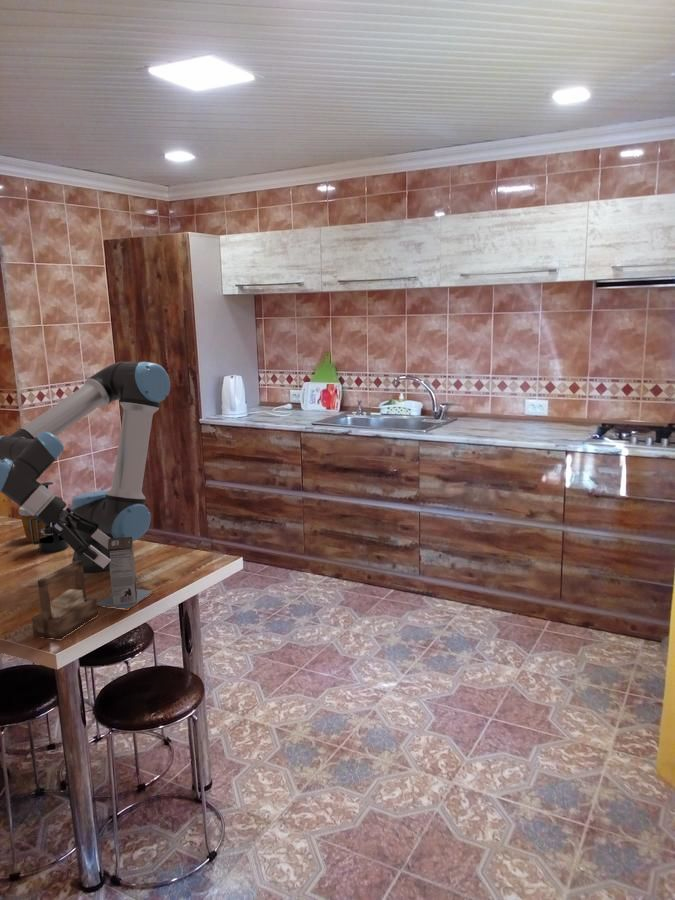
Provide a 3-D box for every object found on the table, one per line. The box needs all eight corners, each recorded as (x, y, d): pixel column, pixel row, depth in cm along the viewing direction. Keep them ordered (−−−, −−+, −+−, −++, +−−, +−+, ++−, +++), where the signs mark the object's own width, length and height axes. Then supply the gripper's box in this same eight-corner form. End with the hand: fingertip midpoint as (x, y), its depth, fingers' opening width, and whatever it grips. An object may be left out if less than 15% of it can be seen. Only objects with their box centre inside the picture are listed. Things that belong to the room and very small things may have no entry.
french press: (65, 541, 235) (58, 477, 231) (74, 548, 228) (67, 482, 223) (30, 549, 228) (22, 483, 224) (37, 556, 221) (29, 488, 216)
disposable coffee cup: (55, 538, 239) (52, 505, 237) (29, 545, 232) (25, 511, 230) (43, 532, 245) (39, 501, 243) (17, 539, 238) (13, 507, 236)
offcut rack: (73, 612, 178) (67, 559, 175) (98, 616, 175) (92, 561, 172) (34, 636, 165) (26, 579, 162) (60, 641, 162) (53, 582, 159)
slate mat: (123, 589, 192) (123, 587, 192) (153, 593, 189) (153, 591, 189) (96, 606, 181) (96, 604, 181) (127, 610, 178) (127, 608, 178)
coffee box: (113, 593, 188) (108, 538, 185) (137, 590, 190) (132, 535, 187) (112, 606, 180) (106, 548, 176) (137, 602, 181) (132, 546, 178)
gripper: (45, 503, 187) (106, 549, 193) (23, 531, 163) (94, 583, 169) (63, 483, 187) (124, 530, 193) (44, 508, 163) (114, 561, 169)
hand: (110, 555), depth 181 cm, fingers open, 13 cm apart
